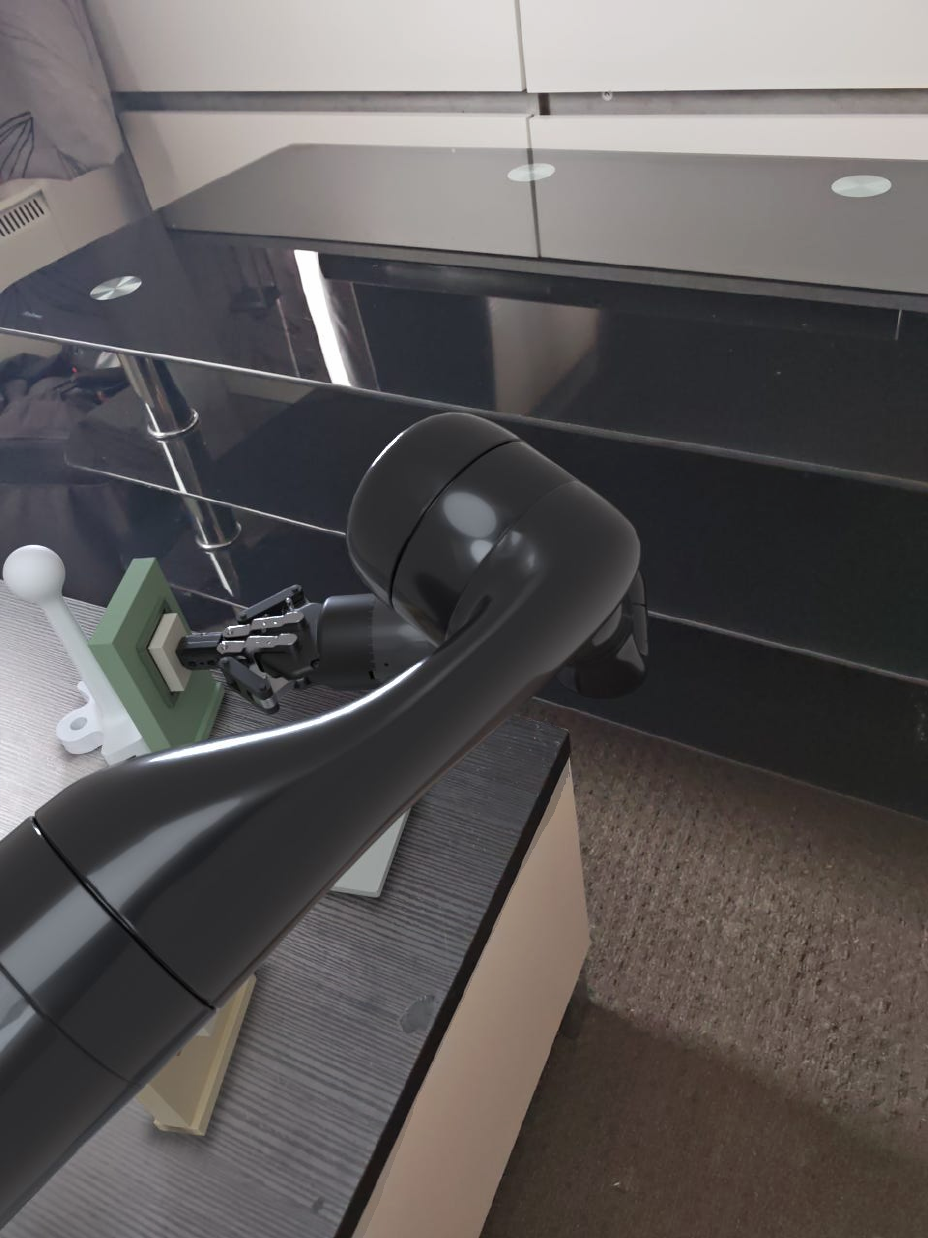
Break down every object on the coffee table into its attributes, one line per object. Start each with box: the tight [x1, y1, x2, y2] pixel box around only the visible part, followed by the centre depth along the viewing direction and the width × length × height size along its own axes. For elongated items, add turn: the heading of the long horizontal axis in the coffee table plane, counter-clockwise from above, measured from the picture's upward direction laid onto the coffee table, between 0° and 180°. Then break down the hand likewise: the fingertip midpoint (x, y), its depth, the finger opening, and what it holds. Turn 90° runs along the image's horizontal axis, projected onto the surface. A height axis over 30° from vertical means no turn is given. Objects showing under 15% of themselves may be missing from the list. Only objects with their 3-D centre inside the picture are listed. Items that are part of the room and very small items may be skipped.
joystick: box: [2, 544, 151, 766], centre depth 77 cm, size 11×8×20 cm
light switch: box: [329, 807, 412, 898], centre depth 71 cm, size 17×1×10 cm
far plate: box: [87, 557, 226, 753], centre depth 76 cm, size 3×10×16 cm, turn 176°
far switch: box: [148, 613, 192, 692], centre depth 74 cm, size 1×4×5 cm, turn 176°
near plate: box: [133, 972, 258, 1137], centre depth 54 cm, size 3×10×16 cm, turn 171°
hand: (181, 652), depth 74 cm, fingers closed
